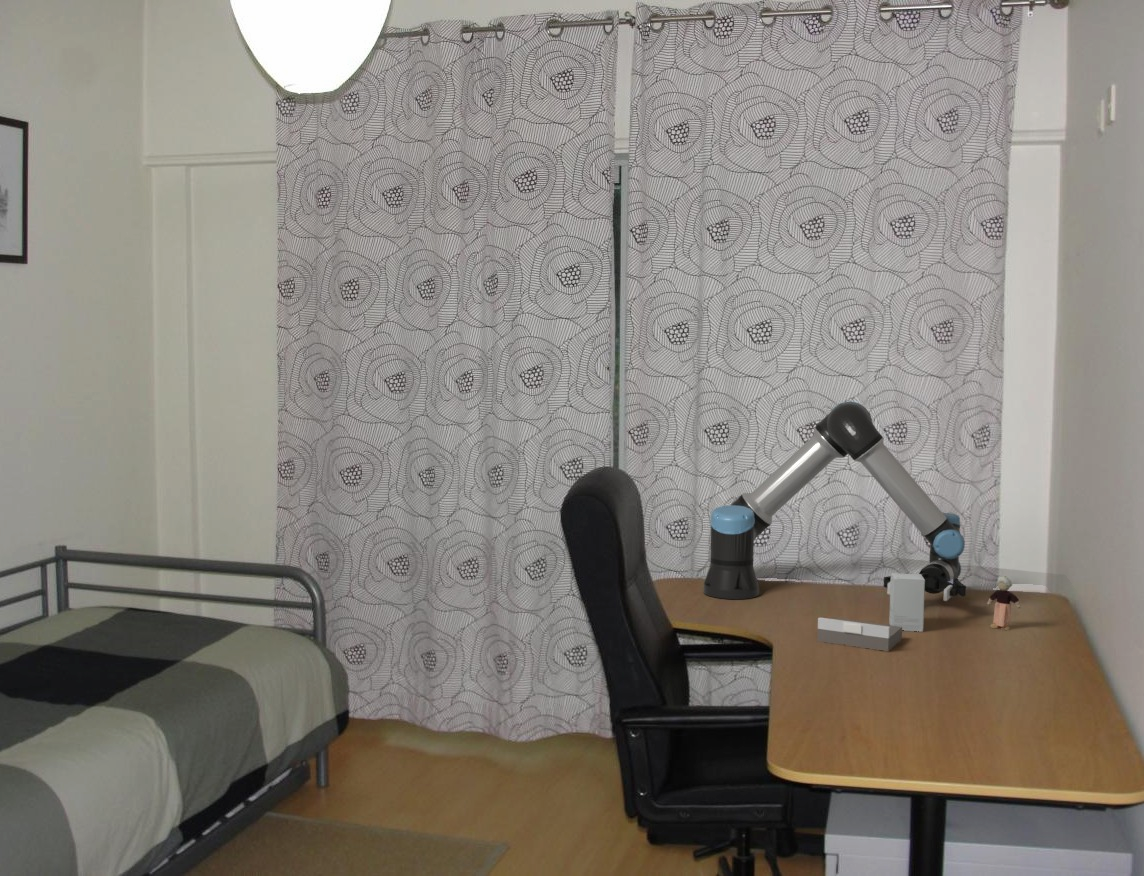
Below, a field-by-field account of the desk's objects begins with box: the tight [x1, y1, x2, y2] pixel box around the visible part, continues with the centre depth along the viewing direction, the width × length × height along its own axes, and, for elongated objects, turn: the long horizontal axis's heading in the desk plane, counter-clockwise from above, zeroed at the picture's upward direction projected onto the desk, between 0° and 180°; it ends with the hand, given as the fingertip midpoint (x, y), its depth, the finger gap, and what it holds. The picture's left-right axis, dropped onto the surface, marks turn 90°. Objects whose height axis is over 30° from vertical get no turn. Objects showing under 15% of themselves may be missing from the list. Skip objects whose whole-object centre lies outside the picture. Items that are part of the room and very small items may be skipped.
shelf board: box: [817, 617, 903, 652], centre depth 248 cm, size 16×12×5 cm
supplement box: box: [888, 572, 926, 633], centre depth 261 cm, size 7×7×13 cm
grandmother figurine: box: [987, 575, 1022, 631], centre depth 261 cm, size 8×4×13 cm, turn 62°
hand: (916, 592), depth 268 cm, fingers open, 13 cm apart
